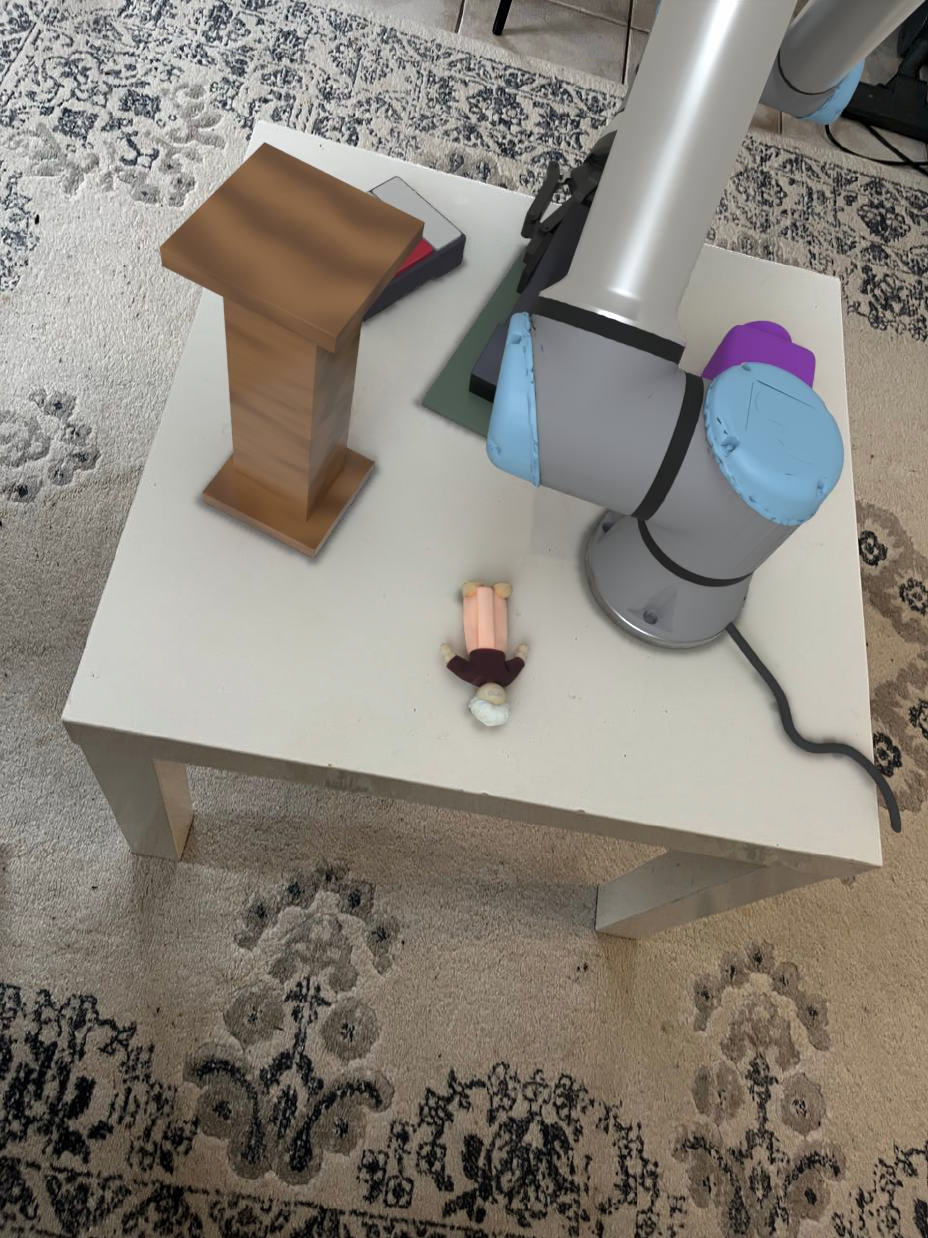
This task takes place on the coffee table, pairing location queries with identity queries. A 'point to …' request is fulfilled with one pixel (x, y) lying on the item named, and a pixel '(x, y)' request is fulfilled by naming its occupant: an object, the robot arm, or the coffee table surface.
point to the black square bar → (530, 297)
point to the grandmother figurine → (486, 651)
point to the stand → (291, 333)
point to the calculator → (432, 253)
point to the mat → (474, 360)
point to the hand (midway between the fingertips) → (542, 292)
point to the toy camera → (761, 351)
